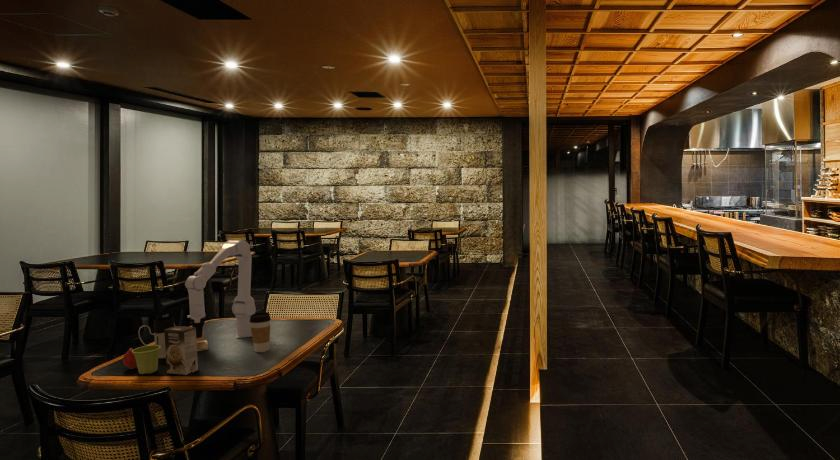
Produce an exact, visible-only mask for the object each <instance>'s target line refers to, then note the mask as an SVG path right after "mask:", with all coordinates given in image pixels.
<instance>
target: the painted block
mask: <svg viewBox="0 0 840 460" xmlns="http://www.w3.org/2000/svg"><path fill="white" fill-rule="evenodd" d="M204 340H205V329H204V327H203V330H202V337H201V338H196V342H200V341H204Z"/></svg>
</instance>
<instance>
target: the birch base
mask: <svg viewBox="0 0 840 460" xmlns="http://www.w3.org/2000/svg"><path fill="white" fill-rule="evenodd" d="M196 343H197V352H201V351H208V350H209V343H208V340H206V339H204V341H200V342H196Z"/></svg>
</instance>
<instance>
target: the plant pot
mask: <svg viewBox="0 0 840 460" xmlns="http://www.w3.org/2000/svg"><path fill="white" fill-rule="evenodd" d="M160 348H161V346H159V345H155V344H151V345H147V346H145V345H144V346H140V347H136V348H134V349H133V350H132V353H133V354H134V356H135V359H136V363H137V366H136V367H137V370H138V371H137V372H138V374H139V375H145V374H148V375H149V374H152V373H155V372H157V371H158V366H159V365H158V364H159V358H158V354H159V349H160Z"/></svg>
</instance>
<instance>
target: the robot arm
mask: <svg viewBox="0 0 840 460" xmlns="http://www.w3.org/2000/svg"><path fill="white" fill-rule="evenodd" d="M231 256H232V257H234V258H235V259H236V260H238V272H237V273H238V276H237V277H238V279H237V295H236V296H235V297H234V299H233V304H232V306H231V312H232V313H233V314H234V317H235V323H236V325H235V326H236V333H235V336H236V339H242V338H249V337H251V338H252V332H251V322H249V321H250V316H251V315H253V314H255V313H256V310H257V308H256V304H255V299H254V297H252V296H251V289H252V288H251V287H252V286H251V284H252V283H251V282H252V262H253V261H252V260H253V259H252V257H253V256H252V253H251V244H249V243H248V241H247V240H243V239H241V240H237V239H235V240H233V239H229V240H226V241H225V243H224V244H222V247H221V248H220V249H219V251H218V252H217V253H216V255H214V257H213V258H212V259H211V260H210V261H209V262H205V263H202V264H201V265H200V266H201V267H200V268H199V269H198V270H196V271H195V272H194V273H193V275H189V276H188V277H187V279H186V280H185V283H184V286H185V288H186V289H187V293H188V300H189V301H188V302H189V315H187V316H186V318H188V319H190V325H191V327H196V338H201V337H202V330H203V328H204V324H205V322H206V321H205V320H206V312H205V311H206V309H205V296H204V295H205V293H204V288H206V285H207V282H208V280H209V279H210V278H211V277H212V276H214V274H215V273H216V272H217V268H218V266H219V265H220V264H222V263H223V262H224V261H225V260H226V259H227V258H228V257H231Z"/></svg>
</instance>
